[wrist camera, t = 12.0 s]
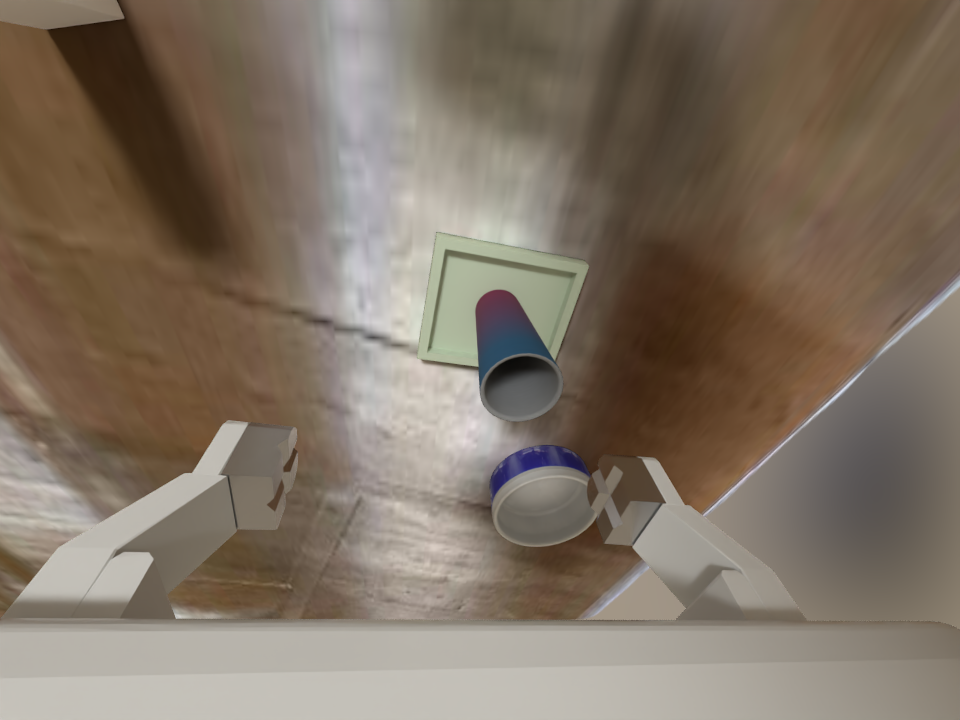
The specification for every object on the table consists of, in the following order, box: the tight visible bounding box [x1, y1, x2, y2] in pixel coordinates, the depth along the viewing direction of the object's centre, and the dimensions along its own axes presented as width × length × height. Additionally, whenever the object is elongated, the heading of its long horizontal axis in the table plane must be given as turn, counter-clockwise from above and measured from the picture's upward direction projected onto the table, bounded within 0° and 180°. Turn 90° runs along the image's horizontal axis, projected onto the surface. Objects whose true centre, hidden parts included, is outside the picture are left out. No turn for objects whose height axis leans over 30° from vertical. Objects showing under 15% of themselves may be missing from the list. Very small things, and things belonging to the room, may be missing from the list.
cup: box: [475, 289, 563, 422], centre depth 39 cm, size 7×7×15 cm
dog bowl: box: [490, 445, 598, 547], centre depth 60 cm, size 15×15×6 cm
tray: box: [417, 232, 589, 367], centre depth 46 cm, size 14×16×2 cm
